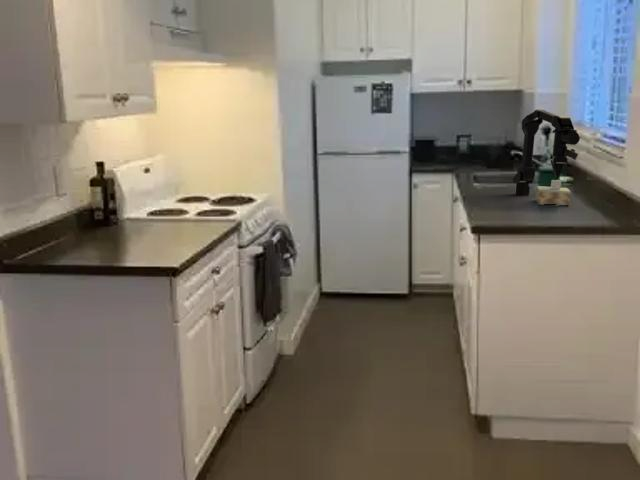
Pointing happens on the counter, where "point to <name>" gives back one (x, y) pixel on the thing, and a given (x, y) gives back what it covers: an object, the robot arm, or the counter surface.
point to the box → (552, 197)
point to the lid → (548, 189)
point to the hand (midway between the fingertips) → (556, 176)
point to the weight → (555, 184)
